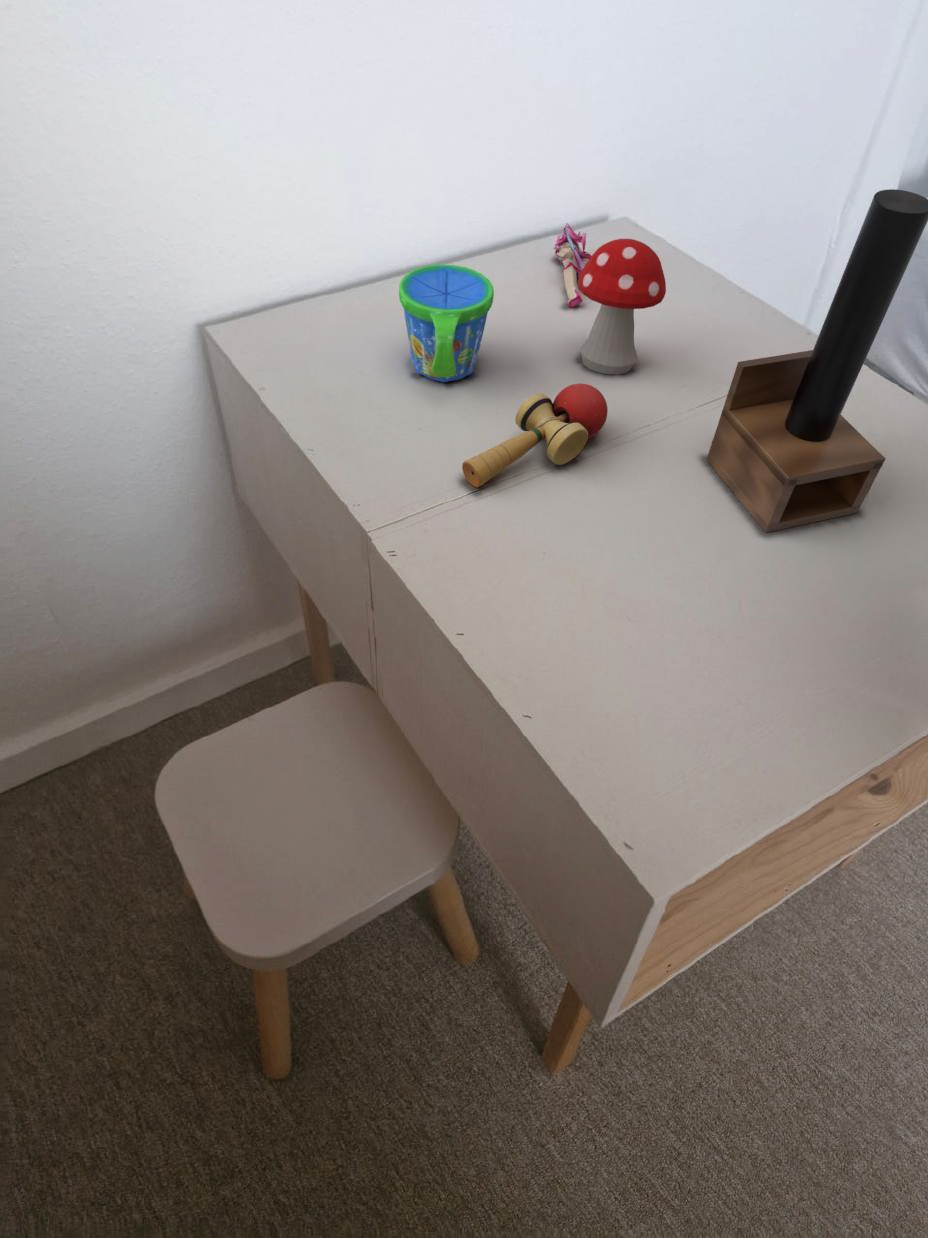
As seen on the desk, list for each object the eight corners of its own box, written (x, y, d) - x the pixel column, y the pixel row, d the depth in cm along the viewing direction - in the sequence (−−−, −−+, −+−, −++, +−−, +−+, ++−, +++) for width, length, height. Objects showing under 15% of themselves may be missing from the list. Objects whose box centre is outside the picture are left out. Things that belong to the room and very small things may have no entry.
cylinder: (802, 445, 82) (899, 216, 66) (775, 418, 85) (862, 192, 69) (841, 437, 84) (946, 209, 67) (813, 410, 86) (907, 186, 70)
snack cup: (481, 409, 96) (487, 327, 88) (389, 399, 96) (387, 317, 89) (493, 337, 106) (499, 257, 99) (410, 328, 107) (410, 249, 99)
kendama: (501, 518, 86) (627, 435, 92) (491, 467, 81) (624, 384, 87) (455, 488, 91) (577, 411, 97) (443, 439, 86) (572, 361, 92)
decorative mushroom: (560, 375, 101) (579, 251, 90) (572, 338, 107) (590, 218, 95) (643, 389, 100) (673, 266, 89) (650, 351, 105) (679, 231, 94)
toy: (581, 326, 114) (561, 266, 123) (619, 303, 112) (596, 244, 121) (556, 286, 109) (537, 226, 118) (596, 261, 107) (573, 202, 116)
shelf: (857, 512, 87) (909, 414, 78) (765, 532, 84) (807, 433, 75) (792, 443, 94) (832, 346, 85) (706, 459, 92) (737, 361, 83)
